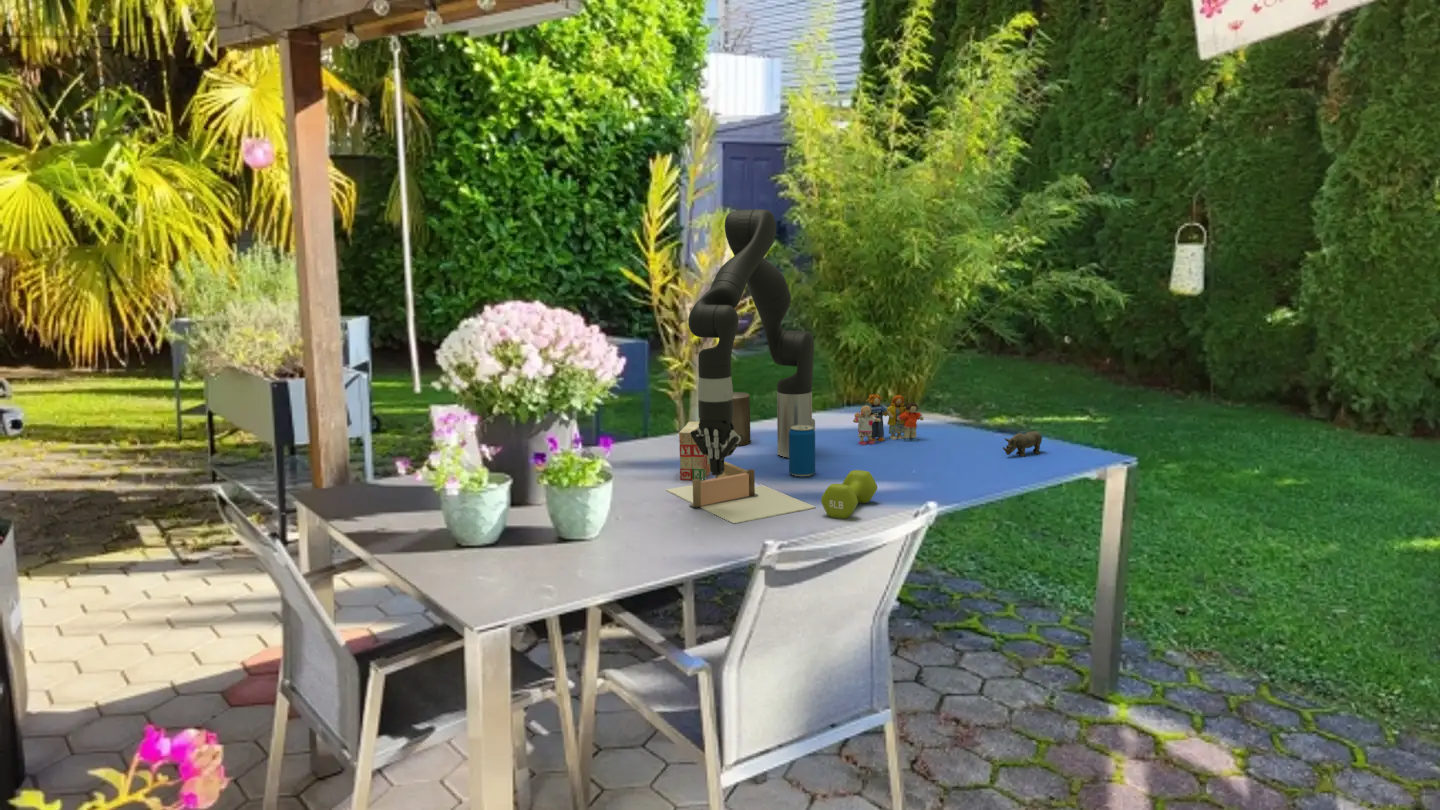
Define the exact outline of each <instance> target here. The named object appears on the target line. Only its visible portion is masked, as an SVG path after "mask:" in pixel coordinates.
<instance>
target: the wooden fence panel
mask: <svg viewBox="0 0 1440 810" xmlns="http://www.w3.org/2000/svg"><path fill="white" fill-rule="evenodd" d="M741 473H747V474H749V496H755V482H756V481H755V469H753V468H749V469H745V468H742V467H740V466H737V465H734V464H732V463H730V462H727V461H725V460H724V472H723V474H721V475H719V476H717V475H715V478H720V477H725V476H731V475H736V474H741Z"/></svg>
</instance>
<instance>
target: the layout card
mask: <svg viewBox="0 0 1440 810" xmlns="http://www.w3.org/2000/svg"><path fill="white" fill-rule="evenodd" d="M759 484H760V485H762V486H759V485H758V487H755V496H748V497H743V498H738V499H733V500H728V501H723V502H718V503H713V504H708V505H703V506H699V507H698V508H701V509H702V510H705V511H706V512H708V513H710V514H712V515H714V514H715V515H714V516H716V515H717V516H716V517H718V516H719V518H720V517H721V519H722V518H723V520H724V519H725V521H726V520H727V522H728V521H730V522H732V523H736V524H740V523H739V522H741V523H745V521H746V522H750V521H756V520H761V519H766V518H772V517H776V516H777V517H778V516H782V515H787V514H792V513H798V512H802V511H808V510H813V509H816V506H814V505H812V504H810V503H807V502H805V501H802V500H800V499H798V498H794V497H793V496H791V495H787V494H785V493H782V492H780V491H779V490H775V489H773V488H772V487H771V488H770V487H768V486H765V485H763V484H761V483H759ZM665 492H668V493H670V494H671V495H674V496H676V497H678V498H680V499H682V500H683V501H686V502H688V503H690V504H689V506H690V507H692V508H696V507H695V506H693V484H690V485H686V486H685V485H684V486H679V487H678V486H677V487H673V488H667V489H666V490H665ZM730 522H729V523H730ZM732 523H731V524H732Z"/></svg>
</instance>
